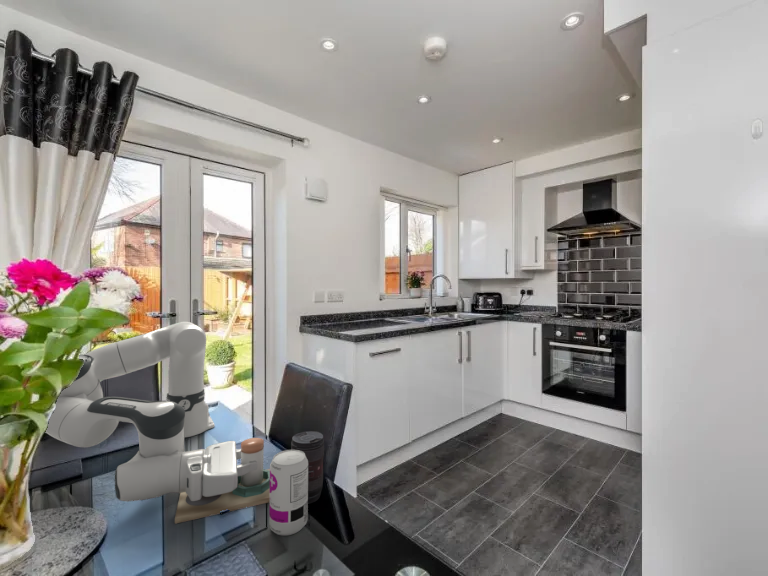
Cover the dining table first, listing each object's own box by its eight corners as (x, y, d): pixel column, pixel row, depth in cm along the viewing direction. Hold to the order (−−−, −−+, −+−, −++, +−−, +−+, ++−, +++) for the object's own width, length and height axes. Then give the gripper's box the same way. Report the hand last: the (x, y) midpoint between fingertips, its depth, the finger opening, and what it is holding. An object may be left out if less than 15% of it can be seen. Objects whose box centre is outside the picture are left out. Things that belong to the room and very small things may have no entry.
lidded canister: (240, 477, 93) (240, 439, 93) (262, 473, 95) (262, 436, 95) (240, 489, 88) (241, 448, 88) (264, 484, 90) (264, 444, 90)
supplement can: (268, 540, 73) (269, 468, 73) (269, 516, 81) (270, 450, 81) (308, 533, 76) (309, 463, 76) (306, 510, 84) (306, 446, 84)
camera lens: (330, 493, 90) (330, 435, 90) (306, 510, 84) (307, 446, 84) (307, 483, 95) (308, 427, 95) (283, 498, 88) (284, 438, 88)
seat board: (181, 490, 91) (182, 477, 91) (271, 472, 100) (271, 461, 100) (174, 523, 78) (174, 509, 78) (277, 500, 87) (278, 487, 87)
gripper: (198, 462, 96) (253, 453, 101) (191, 506, 77) (259, 491, 83) (198, 439, 96) (253, 431, 101) (192, 477, 77) (259, 464, 82)
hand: (256, 459), depth 92 cm, fingers closed on lidded canister, 5 cm apart
